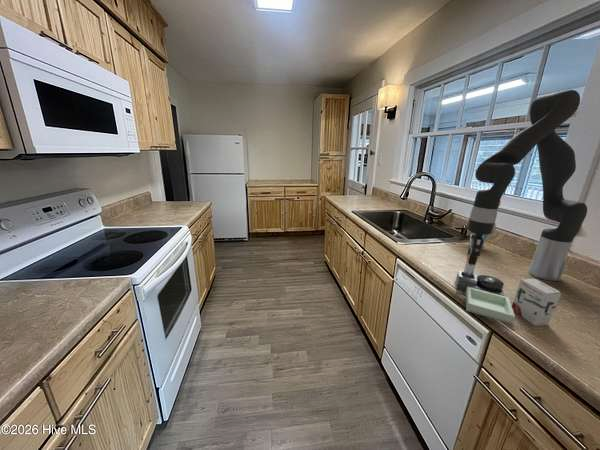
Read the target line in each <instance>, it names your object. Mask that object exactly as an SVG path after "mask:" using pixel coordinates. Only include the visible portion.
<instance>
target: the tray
mask: <svg viewBox="0 0 600 450" xmlns="http://www.w3.org/2000/svg"><path fill="white" fill-rule="evenodd" d="M464 293H465V295H464V296H465V312H469V313H472V314H475V315H478V316H483V317H484V318H485V317H486V318H489V319H493V320H497V321H499V322H502V323H506V324H509V325H513V323H514V321H515V317H516V314H515V311H513V309H512V304H511V301H510V299H509V297H508V296H505V295H504V296H502V295H498V294H494V293H490V292H486V291H482V290H478V289H474V288H470V287H467V289H466V292H464Z"/></svg>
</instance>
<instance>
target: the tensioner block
mask: <svg viewBox="0 0 600 450" xmlns="http://www.w3.org/2000/svg"><path fill="white" fill-rule="evenodd" d="M463 273H464V270H460V269H459V270H458V272H457V274H456V277H455V290H456V291H458V292H462V293H466V289H467V287H470V288H474V289H478V290H482V291H486V292H490V293H494V294H498V295H502V296H505V293H504V290H503V288H504V285H505V283H504V282H503V281H502V280H500V279H498V278H497V277H494V276H489V275H486V274H480V275H477V274H476V273H473V276H472V278H468V277H464V276H463Z"/></svg>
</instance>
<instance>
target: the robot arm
mask: <svg viewBox="0 0 600 450" xmlns="http://www.w3.org/2000/svg"><path fill="white" fill-rule="evenodd" d="M580 104H581V96H580V94H579V91H577V90H574V89H565V90H560V91H558V92H552V93H549V94H545V95H541V96H538V97H536V98H534V99H533V101H532V102H531V104H530V107H529V120H530V123H531V124H530V126H528V127H526V128H524V129H523V130H521V131H520V132H518V133H517V134H515V135H514V136H512V138H510V139H509V140H508V141H507V142H506V144H504V146H503V147H502V148H501V149H500V150H499V151H498V152H496V153H494V154H493V155H491V156H490V157H488V158H486V159H485V160H483V162H481V163H479V165H478V166H477V168H476V170H475V179H476V180H477V181H478V182H481V183H485V184H486V183H488V184H493V185H492V186H491V187H490V188H489V189H480V190H478V191H477V192H476V195H475V198H474V202H473V206H472V209H471V211H470V214H469V219H468V224H467V225H466V231H467V230H468V231H469V232H471V234H470V236H469V240H468V241H469V242H468V244H469V248H468V251H467V255H470V257H469V261H468V263H469V264H471V265H475V264H476V265H477V262H478V260H477V257H478V258H479V257H480V255H481V251H482V249H483V247H482V244H483V242H484V243H485V241H484V239H483V238H484V237H483V235H485V234H486V235H488V236H489V235H492V234H493V227H494V224H495V225H496V219H497V216H498V209H499V207H500V206H499V203H500V199H501V200H502V197H503V196H504V194H505V192H506V190H507V189H508V187H509V185H510V184H511V182H512V181H513V179H514V178H515V176H516V168H515V167H514V166H515V165H518V164H520V163H521V162H522V161H523V160H524V158H525V157H526V156H527V155H528V154H529V153H530V152H531V151H532V150H533V149H534V147H536V146H537V147H536V148H537V152H538V162H539V169H540V170H539V171H540V176H541V183H542V184H541V185H542V212H543V215H544V217H545V218H546V219H548V220H549V221H553V222H557V223H559V225H557V227H555V228H545V229H542V230H541V234H540V236H539V239H538V242H537V244H536V245H537V246H536V249H535V251H534V254H533V256H532V257H533V258H532V261H531V263H530V266H529V269H528V273H529V275H532V276H534V277H536V278H538V279H541V280H546V281H550V282H551V281H553V282H554V281H557V282H560V281H561V279H562V278H561V277H562V275H563V274H564V270H565V268H566V266H567V263H568V260H567V256H568V254H569V251H570V248H571V246H572V244H573V241H574V238H575V237H577V235H578V234H579V231H580V230H581V227H582V225H583V223H584V221H585V219H586V216H587V214H588V206H587V205H586V204H585V203H584V202H581V201H576V200H571V199H565V198H564V186H565V185H566V184H567V182H568V181H569V180H570V178H572V176H573V174H574V173H575V171H576V169H577V164H576V154H575V153H576V152H575V151H574V148H572V146H571V145H570V144H569V143H567V141H565V140H564V139H563V138H562V137H561V136H560V135H559V134H558V133H557V132H556V129H557V128H558V127H560V126H561V125H562V124H564V123H565V122H566V121H567V120H569V119H570V118H571V117H572V116H573V115H574V114H575V113H576V112H577V111H578V109H579V106H580ZM500 204H501V203H500ZM498 206H499V207H498ZM468 231H467V232H468ZM483 245H484V244H483ZM476 261H477V262H476ZM476 265H475V266H476Z"/></svg>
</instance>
